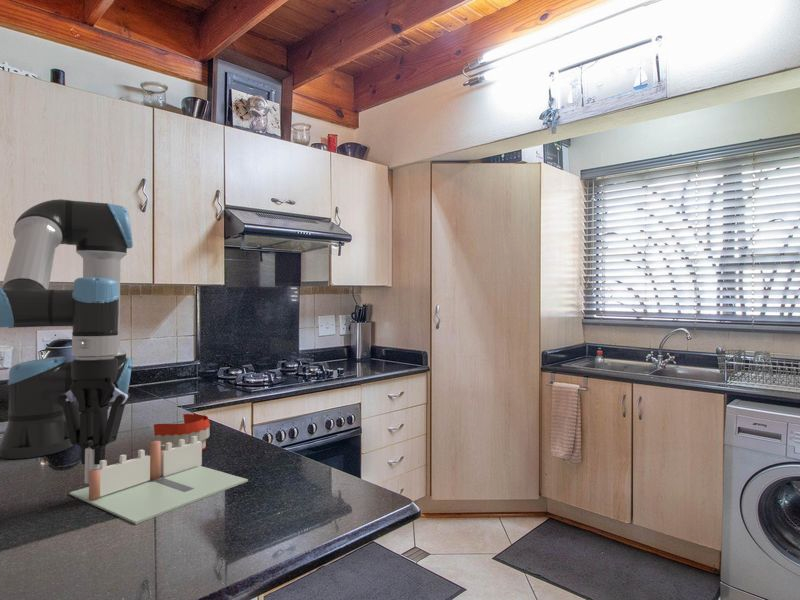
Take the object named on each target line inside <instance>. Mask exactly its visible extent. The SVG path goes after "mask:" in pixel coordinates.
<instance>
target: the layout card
mask: <svg viewBox="0 0 800 600" xmlns="http://www.w3.org/2000/svg"><path fill="white" fill-rule="evenodd" d="M247 482H249V479H248V478H245V477H241V476H238V475H233V474H230V473H226V472H224V471H220V470H216V469H213V468H209V467H206V466H202V465H200V466H196V467H193V468H190V469H187V470H183V471H180V472H177V473H174V474H171V475H168V476H164V477H163V476H161V478H160V479H157V480H149V481H146V482H143V483H140V484H137V485H134V486H131V487H128V488H125V489H122V490H119V491H116V492H113V493H110V494H107V495H104V496H101V497H99V498H97V499H89V486H86V487H83V488H80V489H76V490H73V491H70V492H69V495H70V496H72V497H75V498H76V499H79V500H81V501H83V502H86V503H88V504H90V505H92V506H94V507H97V508H99V509H102V510H103V511H105V512H108V513H110V514H112V515H114V516H116V517H119V518H121V519H123V520H125V521H127V522H129V523H132V524H134V525H139V524H140V523H141V524H142V523H144V522H146V521H148V520H151V519H154V518H156V517H160V516H161V515H164V514H167V513H169V512H172V511H175V510H177V509H180V508H182V507H185V506H188V505H190V504H192V503H195V502H198V501H200V500H204V499H206V498H208V497H210V496H213V495H216V494H219V493H222V492H224V491H227V490H229V489H231V488H234V487H237V486H240V485H242V484H245V483H247Z"/></svg>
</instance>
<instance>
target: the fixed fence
mask: <svg viewBox="0 0 800 600" xmlns="http://www.w3.org/2000/svg"><path fill="white" fill-rule="evenodd" d="M172 445H173V444H172V443H170V442H168V443H166V450H162V451H161V441H155V440H154V441H150V442H149V455H150V480H157V479H160V478H161V476H163V477H164V476H168V475H171V474H174V473H177V472H180V471H183V470H187V469H190V468H193V467H196V466H202V465H203V451H202V442H201V441H197V436H192V437H191V443H189V444H185V440H184V439H180V440H179V446H177V447H174V448H172Z"/></svg>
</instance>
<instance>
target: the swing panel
mask: <svg viewBox="0 0 800 600" xmlns="http://www.w3.org/2000/svg"><path fill="white" fill-rule="evenodd" d="M145 451H146V450H145V449H138V450H137V457H134V458H131V459H127V454H124V453H123V454H120V455H119V462H117V463H113V464H110V465H108V460H106V459H105V460H101V461H100V468H98V469H93V470H90V471H89V483H88V487H89V499H97V498H99V497H101V496H104V495H107V494H110V493H113V492H116V491H119V490H122V489H125V488H128V487H131V486H134V485H137V484H140V483H143V482H146V481H149V480H150V454H149V455H148V454H146V452H145Z"/></svg>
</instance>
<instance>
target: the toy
mask: <svg viewBox="0 0 800 600" xmlns="http://www.w3.org/2000/svg"><path fill="white" fill-rule="evenodd" d="M182 416H183V423H154V424H153V431H154V432H153V433H154V436H155V439H154V441H161V451H162V450H166V443H168V442H170V443H172V448H174V447H177V446H179V440H180V439H184V440H185V444H189V443H191V437H192V436H197V441H201V442H202V452H203V451H204V450H205V449H206V448H207V445H206V441H207V439H208V438H209V437H210V429H211V424H210V420H209V416H207V415H204V414H203V415H202V414H193V413H183V414H182Z"/></svg>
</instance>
